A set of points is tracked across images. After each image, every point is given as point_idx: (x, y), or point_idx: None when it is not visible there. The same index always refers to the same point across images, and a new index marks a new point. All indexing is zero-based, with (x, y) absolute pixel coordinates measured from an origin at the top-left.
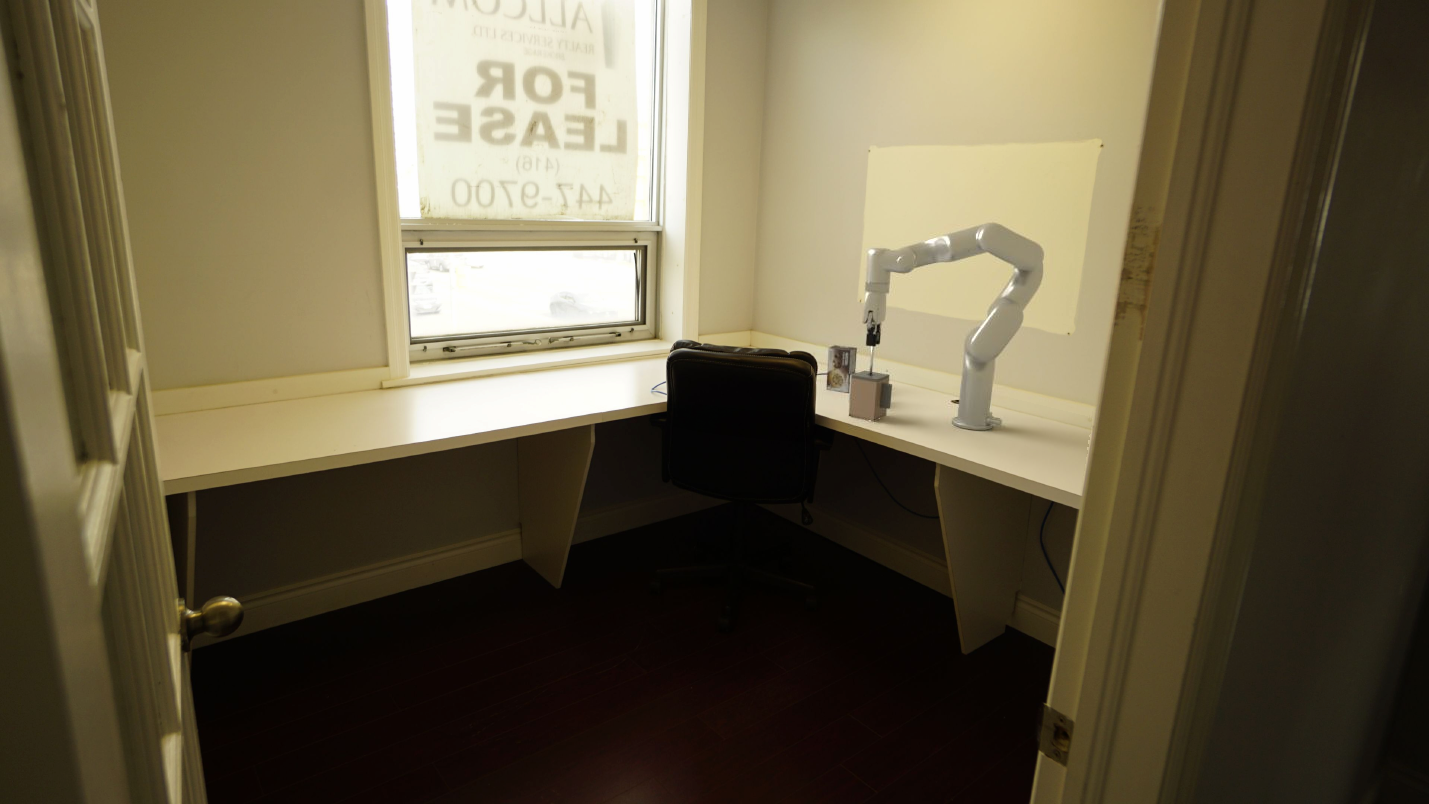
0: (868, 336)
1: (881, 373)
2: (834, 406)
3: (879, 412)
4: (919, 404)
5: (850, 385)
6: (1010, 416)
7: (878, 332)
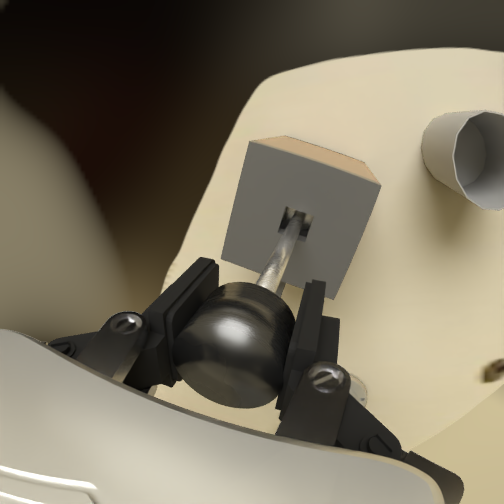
0: (146, 312)
1: (346, 267)
2: (378, 75)
3: None
4: (474, 305)
5: (460, 114)
6: (403, 435)
7: (280, 407)
